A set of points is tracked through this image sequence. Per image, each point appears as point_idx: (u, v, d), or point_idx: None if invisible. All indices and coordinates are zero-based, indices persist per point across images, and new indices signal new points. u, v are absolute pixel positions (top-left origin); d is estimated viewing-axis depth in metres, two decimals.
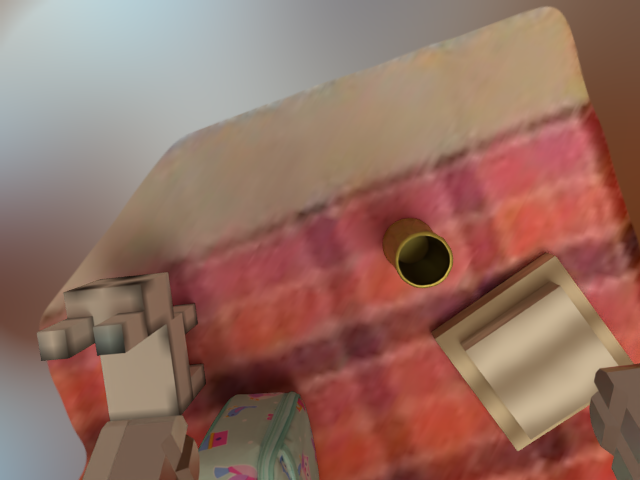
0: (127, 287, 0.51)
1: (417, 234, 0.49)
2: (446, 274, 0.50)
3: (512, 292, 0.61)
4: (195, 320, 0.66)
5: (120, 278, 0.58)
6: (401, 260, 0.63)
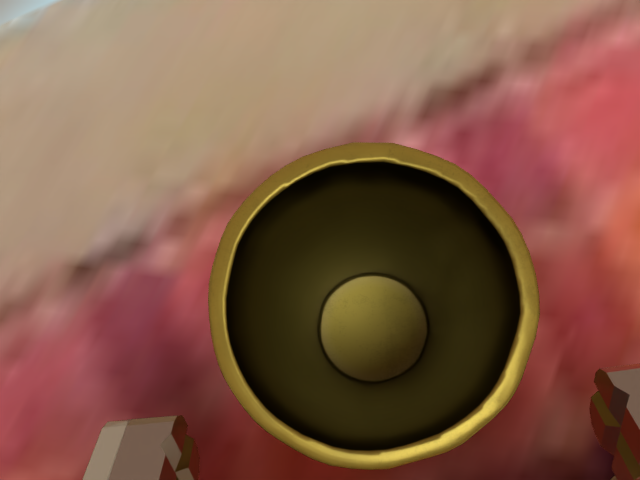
0: None
1: (318, 157, 0.09)
2: (512, 371, 0.08)
3: None
4: None
5: None
6: (353, 375, 0.21)
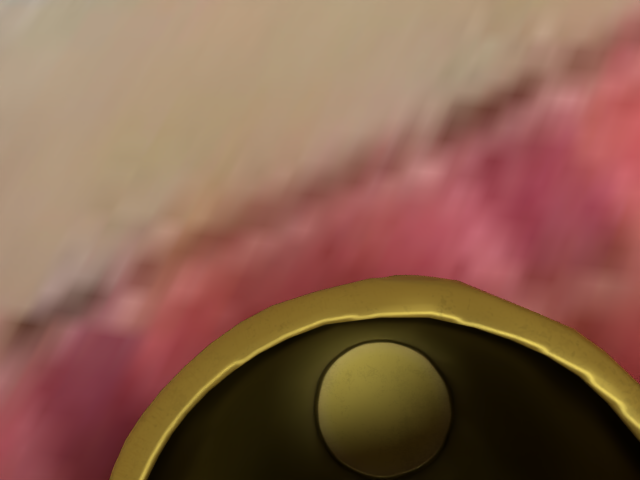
0: None
1: (301, 311, 0.05)
2: None
3: None
4: None
5: None
6: (358, 469, 0.17)
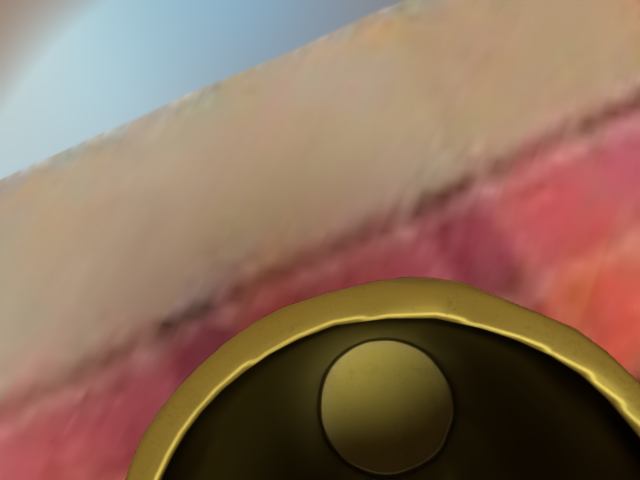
0: None
1: (311, 312, 0.05)
2: None
3: None
4: None
5: None
6: (361, 466, 0.17)
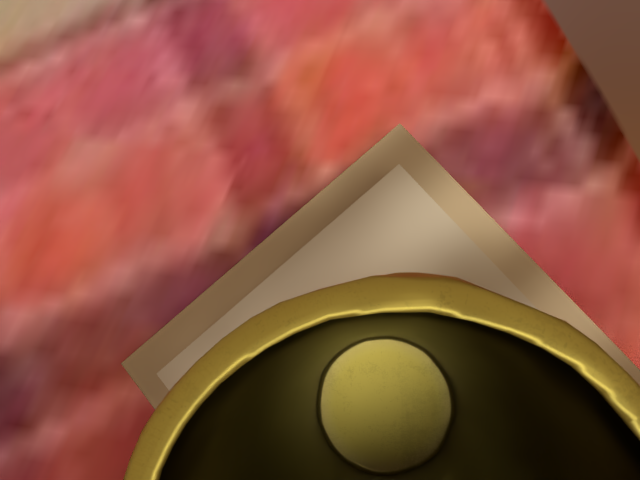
0: None
1: (307, 307, 0.05)
2: None
3: (305, 223, 0.24)
4: None
5: None
6: (361, 464, 0.17)
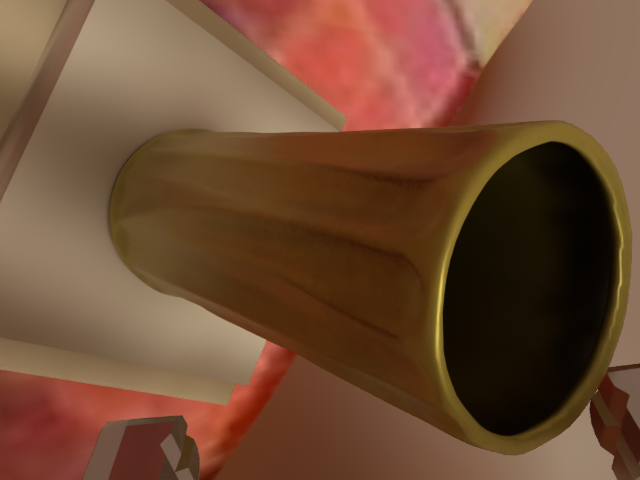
0: None
1: (618, 181, 0.09)
2: (534, 440, 0.09)
3: (259, 65, 0.25)
4: None
5: None
6: None
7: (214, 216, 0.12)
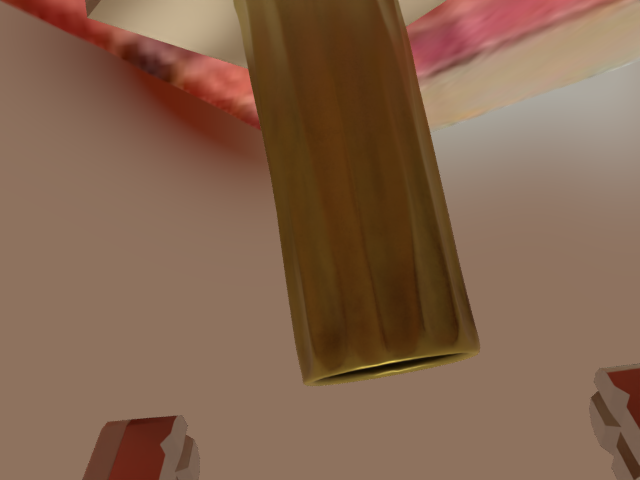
0: None
1: (407, 372, 0.18)
2: None
3: None
4: None
5: None
6: None
7: (410, 126, 0.16)
